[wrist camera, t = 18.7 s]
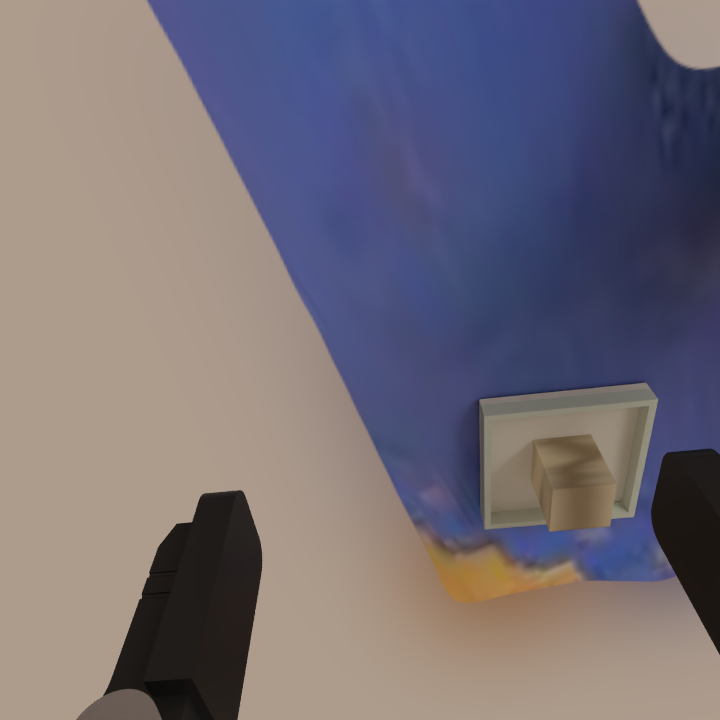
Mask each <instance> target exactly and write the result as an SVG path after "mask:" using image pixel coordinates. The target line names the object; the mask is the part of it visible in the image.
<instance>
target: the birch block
mask: <svg viewBox="0 0 720 720" xmlns="http://www.w3.org/2000/svg"><path fill="white" fill-rule="evenodd" d="M531 481H532V484H533V487H534V490H535V493H536V495H537V498H538V501H539V504H540V507H541V509H542V512H543V515H544V518H545V521H546V524H547V526H548V529H549V532H551V531H562V530H574V529H585V528H597V527H608V526H610V522H611V516H612V510H613V504H614V498H615V492H616V486H617V483H616V481H615V479H614V477H613V476H612V474H611V472H610V470H609V468H608V466H607V464H606V462H605V460H604V458H603V457H602V455H601V453H600V451H599V449H598V447H597V445H596V443H595V441H594V439H593V438H592V436H591V434H587V435H577V436H567V437H556V438H546V439H536V440H533V453H532V472H531Z"/></svg>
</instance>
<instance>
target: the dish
mask: <svg viewBox="0 0 720 720" xmlns="http://www.w3.org/2000/svg"><path fill="white" fill-rule="evenodd" d="M657 403H658V398H657V397H656V396H655V394H654V393H653V391H652V390H651V389H650V387H649V386H648V385H647V383H639V384H628V385H618V386H608V387H598V388H588V389H578V390H568V391H558V392H548V393H538V394H528V395H518V396H508V397H498V398H488V399H479V433H480V512H481V516H482V521H483V525H484V529H497V528H508V527H520V526H532V525H544V524H546V521H545V518H544V515H543V512H542V509H541V507H540V504H539V501H538V498H537V495H536V493H535V490H534V487H533V484H532V481H531V472H532V453H533V440H536V439H546V438H556V437H567V436H577V435H587V434H591V436H592V438H593V439H594V441H595V443H596V445H597V447H598V449H599V451H600V453H601V455H602V457H603V458H604V460H605V462H606V464H607V466H608V468H609V470H610V472H611V474H612V476H613V477H614V479H615V481H616V483H617V486H616V492H615V498H614V504H613V510H612V516H611V519H614V518H626V517H634V514H635V509H636V504H637V499H638V495H639V490H640V485H641V480H642V475H643V470H644V466H645V461H646V456H647V451H648V446H649V441H650V437H651V432H652V427H653V422H654V417H655V413H656V408H657Z"/></svg>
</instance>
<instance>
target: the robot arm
mask: <svg viewBox="0 0 720 720" xmlns="http://www.w3.org/2000/svg"><path fill="white" fill-rule="evenodd" d="M651 518H652V525H653V529H654V532H655V535H656V538H657V540H658V542H659V544H660V546H661V548H662V550H663V552H664V553H665V555H666V557H667V559H668V561H669V563H670V564H671V566H672V568H673V570H674V572H675V574H676V575H677V577H678V579H679V581H680V583H681V585H682V586H683V588H684V590H685V592H686V594H687V596H688V597H689V599H690V601H691V603H692V605H693V607H694V608H695V610H696V612H697V614H698V616H699V617H700V619H701V621H702V623H703V625H704V627H705V629H706V630H707V632H708V634H709V636H710V638H711V640H712V641H713V643H714V645H715V647H716V649H717V651H718V652H719V654H720V455H719V454H718V453H717V452H716V451H715V450H713V449H700V450H689V451H678V452H668V453H666V454H665V455H664V457H663V460H662V464H661V468H660V473H659V477H658V482H657V486H656V490H655V495H654V499H653V503H652V509H651ZM261 571H262V549H261V544H260V539H259V536H258V533H257V530H256V527H255V524H254V521H253V518H252V515H251V512H250V509H249V506H248V503H247V500H246V497H245V495H244V493H243V492H242V491H241V490H238V491H228V492H217V493H206V494H203V495H202V496H201V497H200V499H199V502H198V505H197V508H196V512H195V515H194V518H193V521H192V522H191V523H180V524H176V525H175V527H174V528H173V529H172V530H171V532H170V533H169V534H168V535H167V537H166V538H165V539H164V541H163V542H162V543H161V544H160V546H159V547H158V549H157V553H156V555H155V558H154V561H153V564H152V566H151V569H150V572H149V573H150V576H149V578H147V580H146V583H145V586H144V589H143V592H142V599H140V600H139V603H138V606H137V608H136V611H135V614H134V617H133V620H132V622H131V626H130V628H129V631H128V634H127V636H126V639H125V642H124V645H123V648H122V650H121V653H120V656H119V659H118V662H117V664H116V668H115V670H114V674H113V676H112V678H111V681H110V683H109V686H108V688H107V690H106V692H105V694H104V695H103V697H101V698H100V699H98V700H97V701H95V702H94V703H93V704H91V705H90V706H89V707H88V708H87V709H86V710H85V711H83V713H82V714H81V715H80V716H79V717H78V718H77V720H237V718H238V712H239V707H240V700H241V694H242V688H243V682H244V676H245V670H246V664H247V657H248V651H249V645H250V639H251V633H252V627H253V621H254V615H255V609H256V603H257V596H258V590H259V584H260V579H261Z"/></svg>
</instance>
